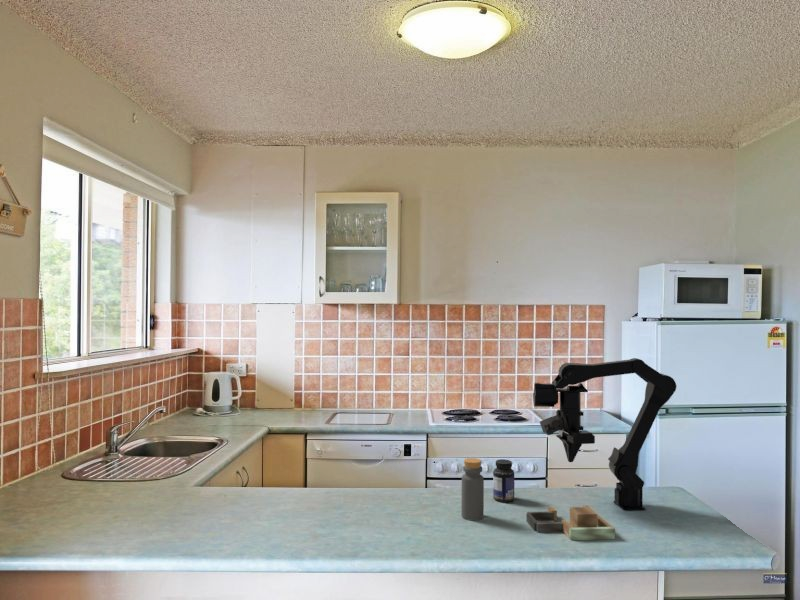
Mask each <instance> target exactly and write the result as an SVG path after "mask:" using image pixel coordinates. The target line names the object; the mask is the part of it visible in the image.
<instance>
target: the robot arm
mask: <svg viewBox="0 0 800 600" xmlns="http://www.w3.org/2000/svg"><path fill="white" fill-rule="evenodd" d="M630 374H631V375H632V374H636V375H637V376H638V378H639V379H640V378H641V379H642V380H643V381H644V382H645V383H646V387H645V392H644V401H643V403H642V405H641V407H640V410H639V412H638V414H637V416H636V418H635V420H634V421H633V423H632V426H631V428H630V431H629V433H628V435H627V437H626V439H625V441H624V443H623V445H621V447H619V448H616V447H613V449H612V451H611V455H610V456H609V457H608V461H609V462H608V468H609V471H610V472H611V473H612V474H613V476H615V478H616V479H617V481H618V482H615V488H614V500H613V503H614V504H615V505H616V506H617V507H619V508H620V509H622V510H623V511H633V510H634V511H635V510H636V511H641V510H642V511H643V510H644V511H645V510H646V507H645V505H643V504H644V503H643V501H644V499H643V496H644V495H643V488H644V485H645V481H644V480H643V479H642V478H641V477H640V476H639V475H638V474H637V470H638V466H639V459H640V458H639V457H640V456H639V455H640V451H641V450H642V447H643V446H644V444H645V442H646V439H647V437H648V435H649V433H650V431H651V429H652V427H653V424H654V422H655V420H656V418H657V416H658V414H659V412H660V409H661V408H662V407H663V406H664V405H665V404H666V403H668V402H669V401H670V399H671V398H672V397H673V395H674V393H676V389H677V383H676V381H675V379H674V378H673V377H672V376H670V375H668V374H664V373H661V372H659V371H657V370H656V369H654V368H652V367H651V366H649V364H647V363H646V362H645V361H644V360H643V359H640V358H636V357H635V358H630V359H624V360H615V361H614V360H613V361H606V362H605V361H604V362H599V363H582V362H581V363H579V362H565V363H563V364H561V365H560V367H559V368H558V374H557V376H556V377H555V378H554V379H553V381H552V382H551V383H540V382H534V386H533V393H532V401H533V402H532V404H533V407H535V408H537V407H538V408H539V407H541V408H543V407H544V408H554V407H555V406H556V405H557V404H559V409H557V410H556V413H555V414H556V415H553V416H550V417H547V418H544V419H543V420H540V421H539V425H540V427H541V430H542V433H544V434H546V435H548V436H551V435H553V434H554V433H556V432H558V434H557V435H556V434H555V436H556V438H557V439H559V440H560V442H562V446H563V448H564V451H565V455H566V458H567V461H568V462H569V463H574V461H575V458H576V457H577V455H578V453H579V451H580V449H581V447H582V445H588V444H589V445H590V444H591V445H592V444H595V443H596V436H595V435H594V433H592V432H591V431H588V430H587V429H586V430H585V429H584V426H583V425H582V421H581V419H582V418H581V416H583V417H584V411H582V410H581V409H582V408H581V407H582V406H581V399H582V398H581V393H588V389H586V387H585V386H584V384H583V383H585V382H587V381H589V380H591V379H597V378H603V377H612V376H620V375H630Z"/></svg>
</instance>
